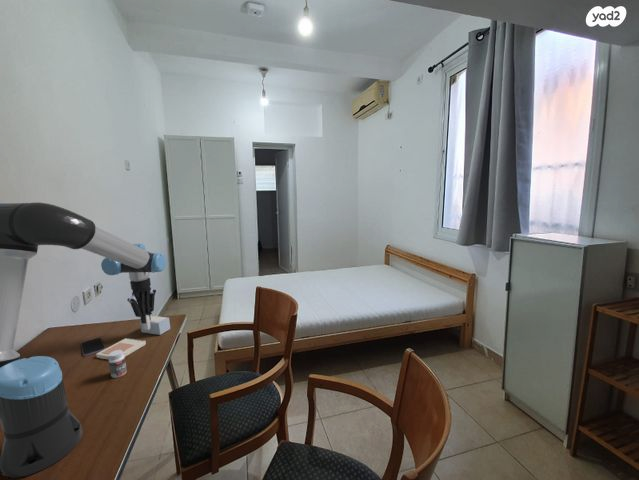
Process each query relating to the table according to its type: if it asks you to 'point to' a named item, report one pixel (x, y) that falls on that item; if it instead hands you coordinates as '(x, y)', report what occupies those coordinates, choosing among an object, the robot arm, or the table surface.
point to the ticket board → (122, 347)
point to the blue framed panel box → (157, 325)
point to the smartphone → (92, 346)
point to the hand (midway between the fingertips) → (147, 328)
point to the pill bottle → (117, 364)
